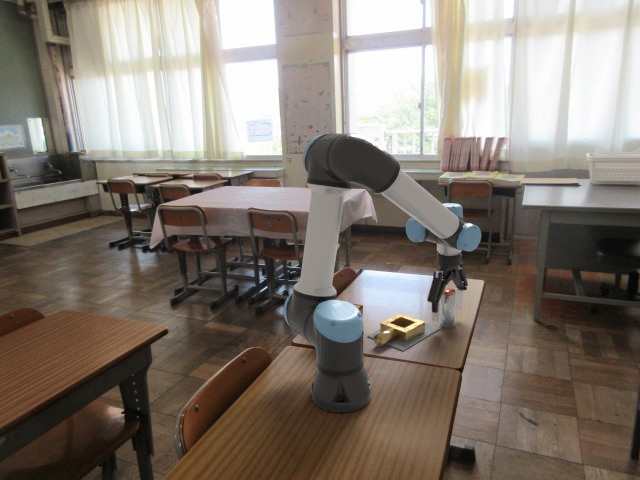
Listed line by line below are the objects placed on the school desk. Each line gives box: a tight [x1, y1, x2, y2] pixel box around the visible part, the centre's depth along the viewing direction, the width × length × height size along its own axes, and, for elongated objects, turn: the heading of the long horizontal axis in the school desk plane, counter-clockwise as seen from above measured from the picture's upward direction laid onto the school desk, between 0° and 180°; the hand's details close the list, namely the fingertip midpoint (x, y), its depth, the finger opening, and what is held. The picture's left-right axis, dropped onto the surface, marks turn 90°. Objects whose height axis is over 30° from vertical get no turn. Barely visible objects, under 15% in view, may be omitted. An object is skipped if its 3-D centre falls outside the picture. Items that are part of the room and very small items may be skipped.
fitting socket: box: [373, 313, 426, 347], centre depth 139 cm, size 17×10×4 cm, turn 133°
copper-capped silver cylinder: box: [439, 287, 456, 329], centre depth 145 cm, size 5×5×12 cm
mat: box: [367, 322, 442, 352], centre depth 143 cm, size 20×14×1 cm
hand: (447, 314), depth 146 cm, fingers open, 13 cm apart
